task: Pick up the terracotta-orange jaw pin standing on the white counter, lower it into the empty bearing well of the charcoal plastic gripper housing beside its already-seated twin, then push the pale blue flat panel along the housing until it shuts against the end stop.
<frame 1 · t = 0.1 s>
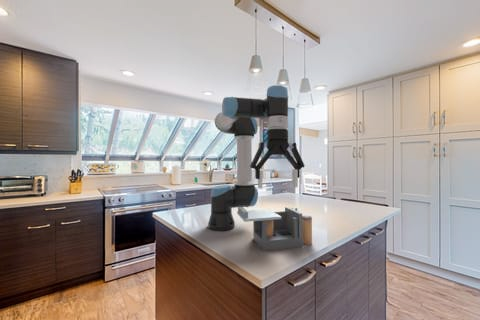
hand: (277, 187, 79), 28 cm above the counter, fingers open, 13 cm apart
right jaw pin: (306, 243, 99), on the counter
toy figure: (294, 230, 117), on the counter
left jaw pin: (268, 243, 99), resting in housing
pale blue flat panel: (258, 212, 98), point 15 cm above the counter, slide at 8.0 cm
housing: (276, 242, 100), on the counter
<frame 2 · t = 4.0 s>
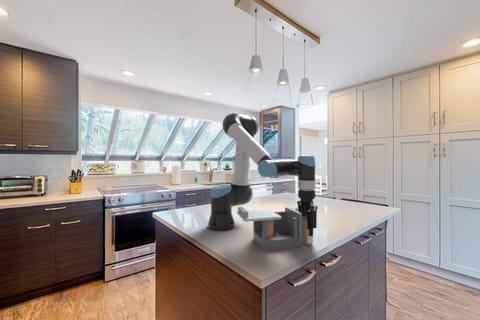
hand: (306, 240, 99), 1 cm above the counter, fingers closed on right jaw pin, 4 cm apart
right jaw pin: (306, 243, 99), on the counter, touching gripper
everything else where it was.
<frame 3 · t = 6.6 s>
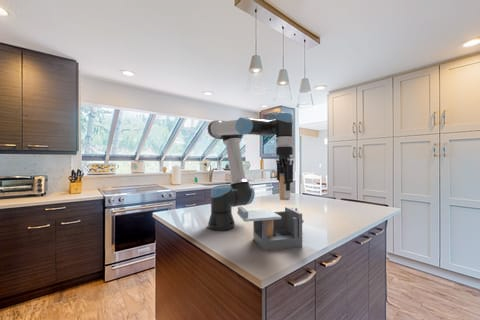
hand: (284, 196, 101), 21 cm above the counter, fingers closed on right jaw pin, 4 cm apart
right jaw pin: (284, 199, 101), point 20 cm above the counter, touching gripper
everything else where it was.
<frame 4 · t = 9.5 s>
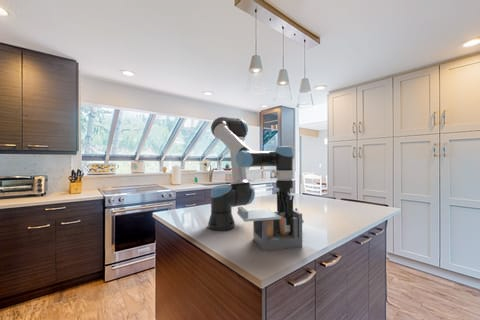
hand: (284, 229, 101), 6 cm above the counter, fingers closed on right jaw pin, 4 cm apart
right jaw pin: (284, 239, 101), point 1 cm above the counter, touching gripper
everything else where it was.
when the fingers open (6 cm above the counter, at t = 9.5 s): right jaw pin drops 1 cm, resting in housing.
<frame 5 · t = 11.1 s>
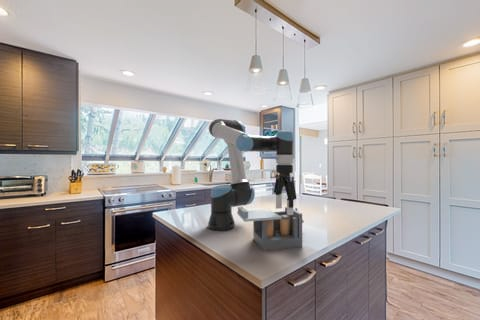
hand: (284, 211, 101), 14 cm above the counter, fingers open, 11 cm apart
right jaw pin: (285, 241, 101), resting in housing
everything else where it was.
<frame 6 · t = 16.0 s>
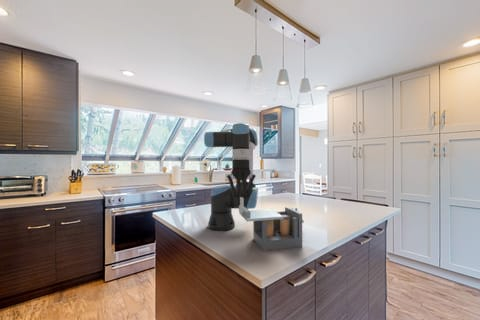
hand: (241, 212, 96), 15 cm above the counter, fingers closed
pale blue flat panel: (260, 212, 98), point 15 cm above the counter, slide at 6.9 cm, touching gripper
everything else where it was.
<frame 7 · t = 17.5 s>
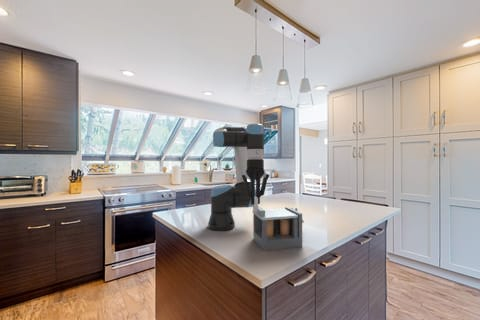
hand: (255, 211, 97), 15 cm above the counter, fingers closed
pale blue flat panel: (273, 211, 99), point 15 cm above the counter, slide at 0.4 cm, touching gripper
everything else where it was.
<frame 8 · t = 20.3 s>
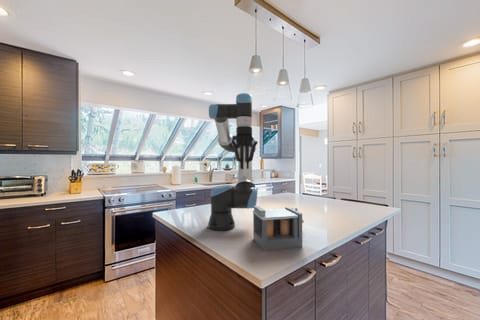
hand: (244, 175, 104), 30 cm above the counter, fingers closed
pale blue flat panel: (274, 211, 99), point 15 cm above the counter, slide at 0.3 cm
everything else where it was.
at the end: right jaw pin 0.2 cm from the target spot on the housing, point 0.0 cm above the housing's base; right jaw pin tilted 0°; pale blue flat panel slide at 0.3 cm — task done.
